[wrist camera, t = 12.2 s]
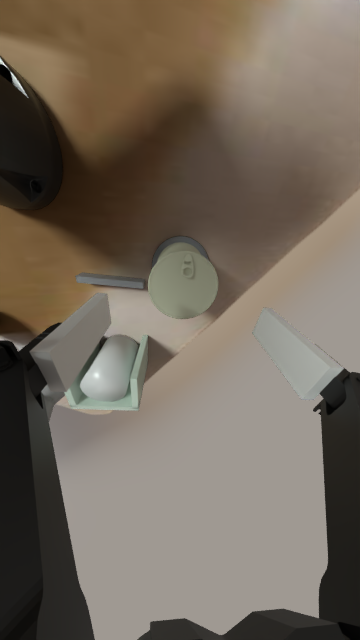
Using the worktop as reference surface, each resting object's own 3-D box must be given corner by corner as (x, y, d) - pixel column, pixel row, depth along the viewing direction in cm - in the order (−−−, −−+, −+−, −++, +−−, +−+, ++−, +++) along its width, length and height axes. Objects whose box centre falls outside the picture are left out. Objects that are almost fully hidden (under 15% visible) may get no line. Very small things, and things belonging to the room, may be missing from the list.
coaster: (152, 232, 27) (152, 232, 26) (214, 240, 28) (214, 240, 27) (151, 291, 32) (151, 292, 32) (202, 296, 33) (203, 297, 33)
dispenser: (79, 272, 30) (22, 298, 19) (148, 279, 31) (133, 307, 20) (98, 361, 42) (71, 408, 31) (147, 363, 43) (138, 410, 32)
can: (208, 246, 28) (229, 256, 17) (199, 293, 32) (210, 324, 22) (157, 238, 27) (147, 245, 17) (155, 288, 31) (146, 318, 21)
